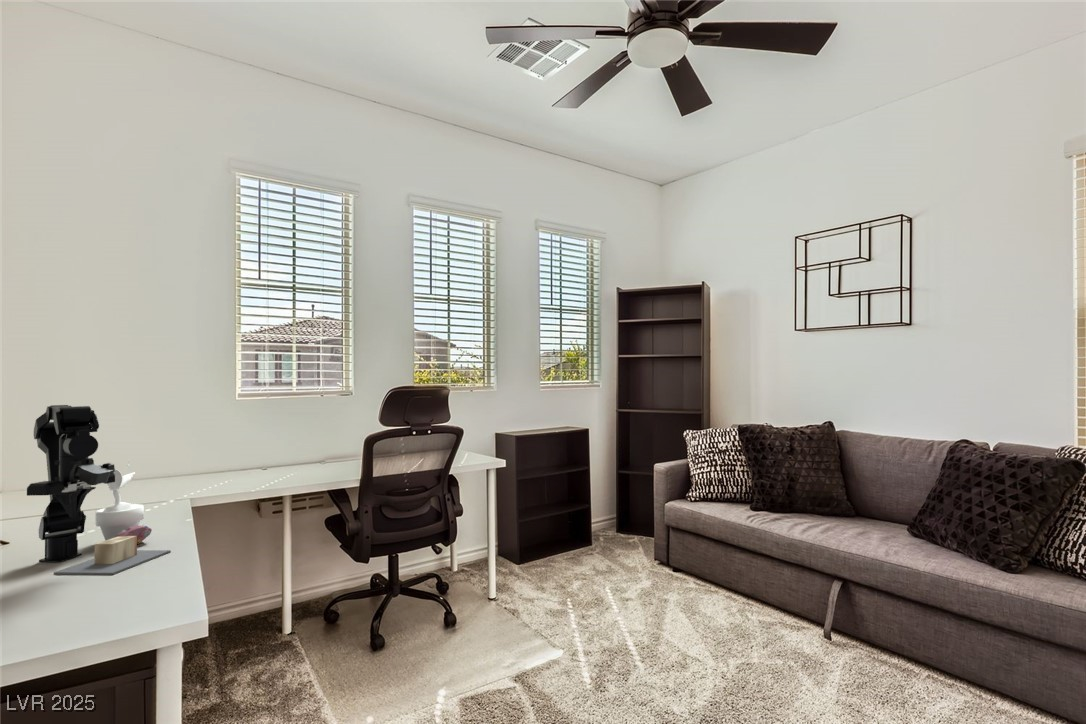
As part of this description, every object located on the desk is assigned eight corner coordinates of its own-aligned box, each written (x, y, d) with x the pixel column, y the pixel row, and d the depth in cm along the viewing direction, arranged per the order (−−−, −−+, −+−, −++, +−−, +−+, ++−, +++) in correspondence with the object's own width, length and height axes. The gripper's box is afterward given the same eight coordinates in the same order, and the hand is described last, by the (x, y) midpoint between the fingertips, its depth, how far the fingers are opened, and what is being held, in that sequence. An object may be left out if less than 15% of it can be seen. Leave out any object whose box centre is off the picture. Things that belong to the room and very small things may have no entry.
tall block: (94, 544, 141) (119, 536, 148) (94, 563, 141) (119, 554, 148) (112, 544, 140) (136, 535, 148) (112, 563, 140) (136, 554, 148)
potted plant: (123, 546, 158) (124, 459, 159) (84, 547, 158) (85, 460, 159) (155, 534, 171) (156, 454, 172) (119, 535, 171) (119, 455, 172)
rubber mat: (53, 574, 135) (53, 572, 135) (117, 552, 152) (117, 550, 152) (113, 574, 133) (113, 572, 133) (170, 552, 151) (170, 550, 151)
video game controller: (115, 557, 153) (124, 534, 153) (104, 549, 154) (113, 527, 154) (148, 546, 163) (157, 525, 162) (137, 539, 164) (145, 518, 163)
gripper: (67, 460, 130) (66, 526, 129) (133, 450, 148) (133, 508, 147) (25, 460, 131) (24, 526, 130) (96, 451, 149) (95, 508, 149)
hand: (73, 517), depth 139 cm, fingers closed
